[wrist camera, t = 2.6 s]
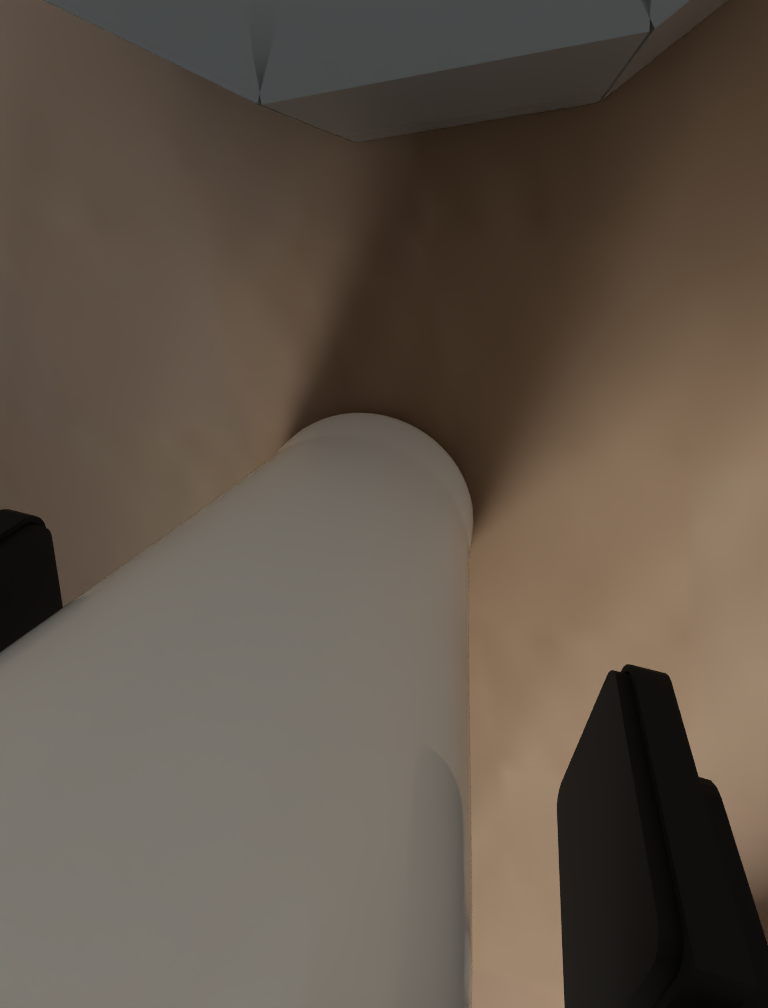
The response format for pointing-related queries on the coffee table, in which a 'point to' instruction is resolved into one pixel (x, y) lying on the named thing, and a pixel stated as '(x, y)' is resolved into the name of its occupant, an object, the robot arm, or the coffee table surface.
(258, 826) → the drinking glass
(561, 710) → the coffee table surface
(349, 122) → the bowl
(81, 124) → the coffee table surface
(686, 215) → the coffee table surface
